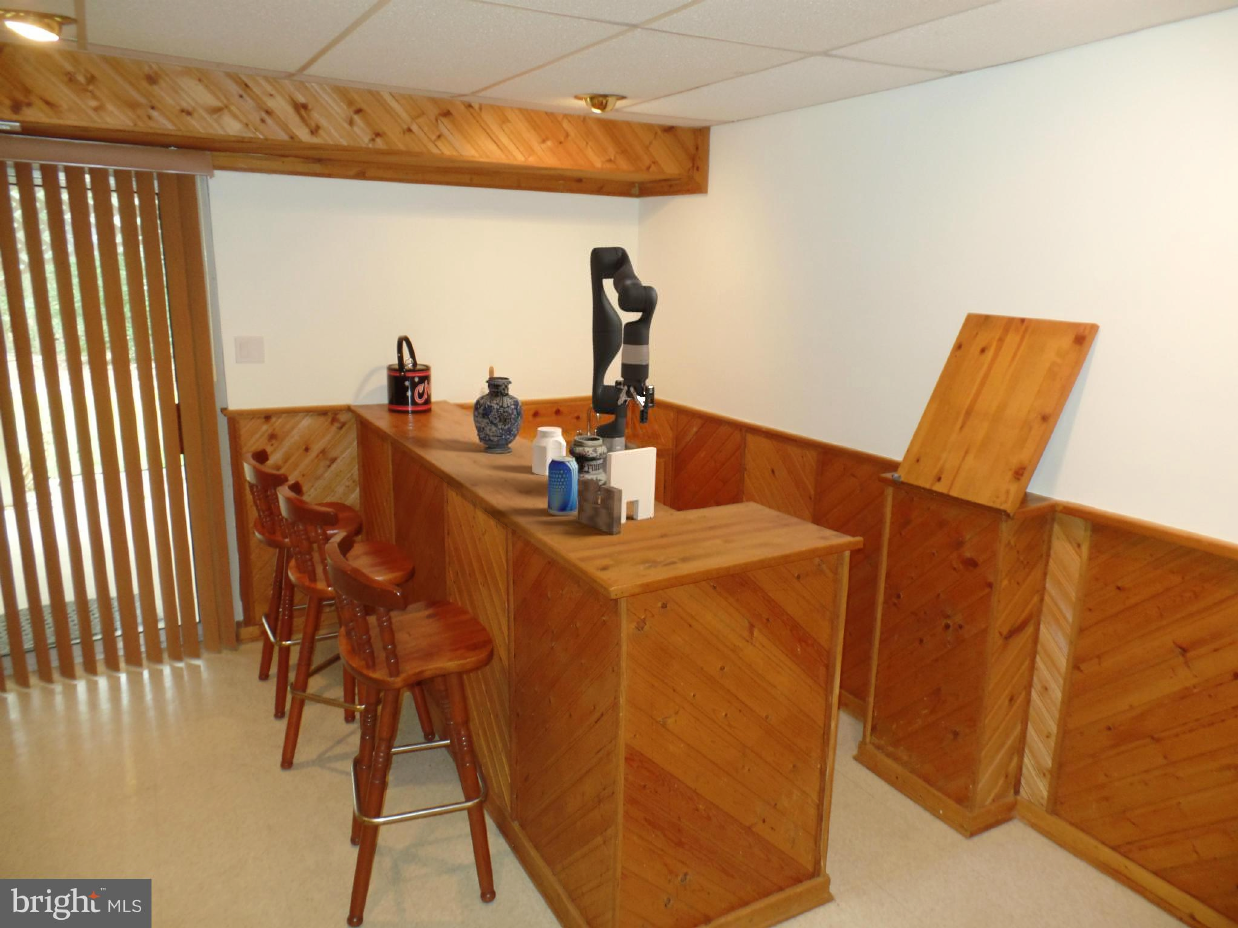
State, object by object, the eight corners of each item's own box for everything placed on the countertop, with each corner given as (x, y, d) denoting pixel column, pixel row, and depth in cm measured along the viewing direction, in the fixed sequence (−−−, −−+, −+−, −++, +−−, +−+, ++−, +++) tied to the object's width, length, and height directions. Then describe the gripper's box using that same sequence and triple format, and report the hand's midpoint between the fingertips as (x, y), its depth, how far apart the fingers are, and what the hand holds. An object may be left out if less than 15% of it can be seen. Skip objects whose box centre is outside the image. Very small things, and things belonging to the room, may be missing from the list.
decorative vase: (466, 446, 328) (466, 374, 322) (512, 444, 336) (513, 374, 330) (481, 458, 309) (482, 381, 303) (529, 455, 317) (531, 381, 311)
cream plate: (609, 525, 232) (611, 454, 227) (605, 524, 233) (607, 453, 229) (653, 516, 242) (656, 448, 237) (648, 515, 243) (651, 447, 239)
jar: (557, 467, 299) (558, 425, 296) (570, 473, 291) (570, 430, 288) (527, 470, 293) (528, 427, 290) (539, 476, 285) (539, 432, 282)
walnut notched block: (577, 520, 236) (578, 478, 233) (584, 519, 237) (585, 477, 235) (613, 534, 224) (614, 491, 221) (620, 533, 225) (622, 489, 223)
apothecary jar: (601, 501, 256) (602, 443, 252) (562, 498, 259) (563, 440, 255) (609, 491, 268) (611, 435, 264) (572, 488, 270) (573, 433, 266)
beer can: (582, 511, 245) (583, 457, 241) (566, 518, 238) (567, 462, 234) (558, 506, 249) (559, 453, 245) (541, 513, 242) (542, 458, 238)
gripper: (607, 359, 231) (606, 418, 234) (641, 364, 220) (639, 426, 224) (629, 358, 235) (627, 416, 239) (663, 363, 225) (660, 423, 228)
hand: (633, 420), depth 231 cm, fingers open, 8 cm apart
